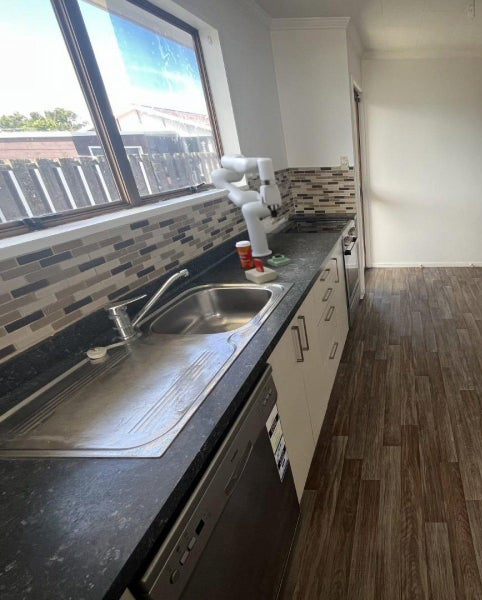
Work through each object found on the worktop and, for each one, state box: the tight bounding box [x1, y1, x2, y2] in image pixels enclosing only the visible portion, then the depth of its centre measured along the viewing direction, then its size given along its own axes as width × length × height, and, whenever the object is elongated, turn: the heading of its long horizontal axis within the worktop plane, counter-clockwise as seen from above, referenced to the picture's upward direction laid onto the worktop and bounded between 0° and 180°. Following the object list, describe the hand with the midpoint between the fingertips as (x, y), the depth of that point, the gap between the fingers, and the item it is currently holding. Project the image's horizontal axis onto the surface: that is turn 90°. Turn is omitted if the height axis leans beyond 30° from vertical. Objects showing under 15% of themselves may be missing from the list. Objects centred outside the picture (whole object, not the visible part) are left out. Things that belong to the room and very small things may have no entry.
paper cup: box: [235, 240, 255, 269], centre depth 182 cm, size 8×8×14 cm
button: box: [274, 253, 282, 258], centre depth 187 cm, size 4×4×2 cm
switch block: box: [266, 254, 292, 268], centre depth 188 cm, size 10×9×4 cm
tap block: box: [244, 265, 278, 285], centre depth 167 cm, size 12×10×4 cm
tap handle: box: [253, 258, 265, 273], centre depth 165 cm, size 6×2×6 cm, turn 51°
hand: (274, 217), depth 185 cm, fingers closed
